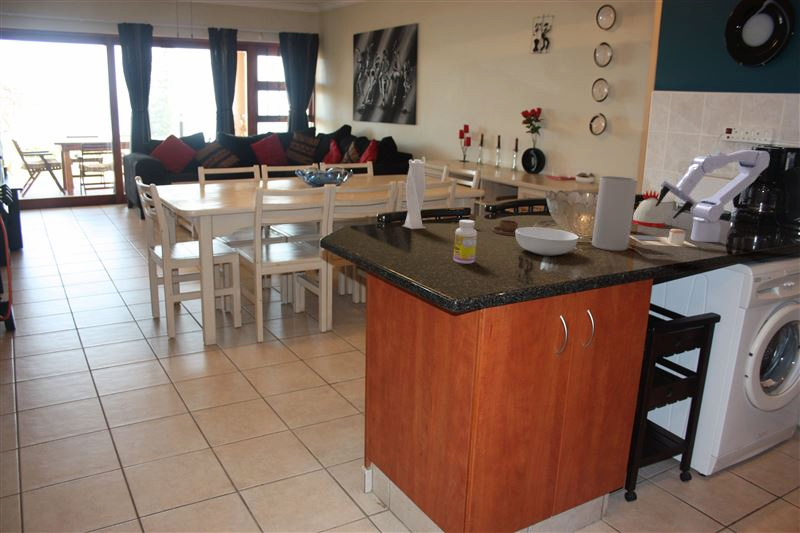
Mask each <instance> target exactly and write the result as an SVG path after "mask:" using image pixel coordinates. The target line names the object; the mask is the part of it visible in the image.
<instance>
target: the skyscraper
mask: <svg viewBox="0 0 800 533" xmlns="http://www.w3.org/2000/svg"><path fill="white" fill-rule="evenodd" d="M408 164H409V168H408V171H407V177H406V183H405V200H406V209H407V214H406V219H405V221H404V224H402V225H401V227H404V228H407V229H410V230H421V229H427V227H425V226H423V222H422V215H421V211H422V207H423V204H424V200H425V193H426V173H425V164H426V156H422V158H421V159H413V160H412V159H409V160H408Z"/></svg>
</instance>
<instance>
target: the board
mask: <svg viewBox="0 0 800 533" xmlns="http://www.w3.org/2000/svg"><path fill="white" fill-rule="evenodd" d="M654 237H655V238H657V239H659V240H660V241H640V240H638V239H636V238H634V237H632V236H631V235H630V236H629V238H631V239H633V240H634V241H637V242H639V243H640V244H642V245H644V246H645V245H646V246H647V245H648V246H664V247H665V246H666V247H667V246H669V247H687V248H688V247H689V248H698V246H697V245H695V244H693V243H691V242H688V241H686V240H684V244H682V245H676V244H670V243H668V239H669V236H668V237H667V236H654Z"/></svg>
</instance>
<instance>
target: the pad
mask: <svg viewBox="0 0 800 533" xmlns="http://www.w3.org/2000/svg"><path fill="white" fill-rule="evenodd" d="M630 236H632V237H634V238H636V239H638V240H640V241H660V240H659V239H657V238H655V237H656V236H654V235H653V236H652V235H638V234H636V235H635V234H630Z"/></svg>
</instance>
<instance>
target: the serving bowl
mask: <svg viewBox="0 0 800 533" xmlns="http://www.w3.org/2000/svg"><path fill="white" fill-rule="evenodd" d="M514 233H515V234H516V236H515V239H516V241H517V243H518V245H519V246H520V247H522V248H523V249H524V250H526V251H529V252H532V253H533V254H535V255H540V256H551V257H553V256H557V255H563V254H567V253H570V252H571V251H572V250H574V249H575V247H576V245H577V244H578V241H579V236H578V235H577V234H575V233H573V232H569V231H566V230H562V229H556V228H551V227H549V228H548V227H540V226H539V227H537V226H535V227H534V226H531V227H529V226H527V227H519V228H518V229H516V231H514Z"/></svg>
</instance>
